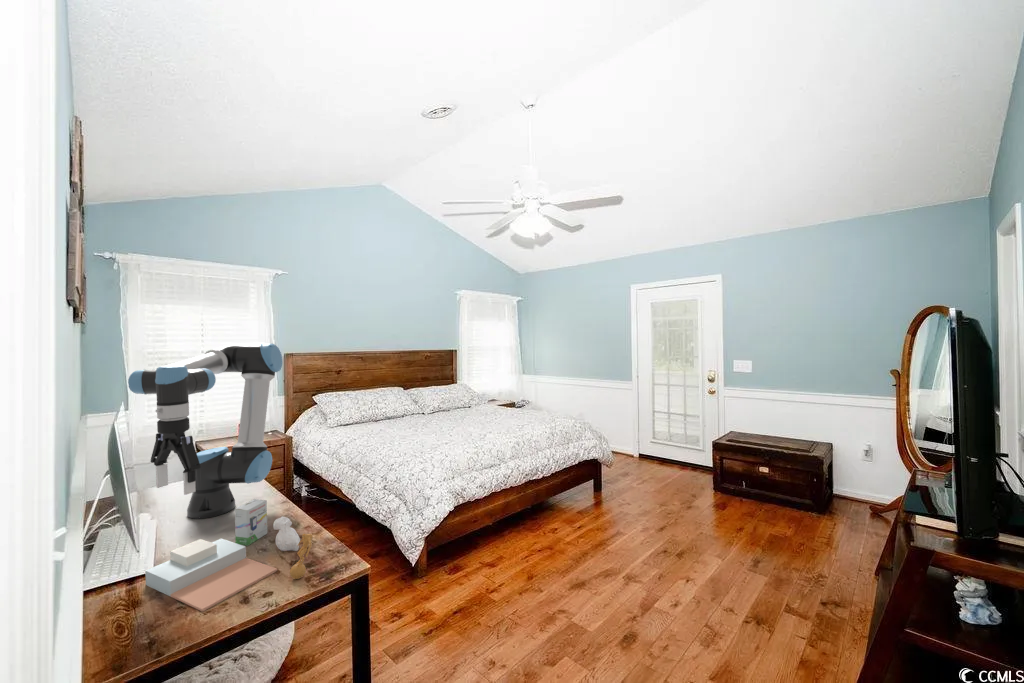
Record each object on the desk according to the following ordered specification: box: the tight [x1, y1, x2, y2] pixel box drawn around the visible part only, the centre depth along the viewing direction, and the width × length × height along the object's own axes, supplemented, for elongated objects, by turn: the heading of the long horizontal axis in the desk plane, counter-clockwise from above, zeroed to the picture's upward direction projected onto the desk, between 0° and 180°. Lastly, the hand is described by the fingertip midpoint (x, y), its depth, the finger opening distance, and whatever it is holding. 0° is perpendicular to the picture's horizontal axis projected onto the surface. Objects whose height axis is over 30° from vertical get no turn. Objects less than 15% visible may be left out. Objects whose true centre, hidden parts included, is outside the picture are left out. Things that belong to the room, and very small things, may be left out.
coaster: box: [169, 538, 217, 566], centre depth 127 cm, size 8×8×2 cm
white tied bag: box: [273, 516, 301, 552], centre depth 139 cm, size 12×8×11 cm
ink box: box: [234, 498, 268, 547], centre depth 145 cm, size 9×5×12 cm, turn 168°
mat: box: [170, 557, 278, 612], centre depth 121 cm, size 20×14×1 cm
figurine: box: [289, 533, 314, 580], centre depth 123 cm, size 8×6×12 cm
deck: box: [144, 537, 247, 598], centre depth 126 cm, size 20×12×4 cm, turn 154°
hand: (175, 489), depth 131 cm, fingers open, 13 cm apart
